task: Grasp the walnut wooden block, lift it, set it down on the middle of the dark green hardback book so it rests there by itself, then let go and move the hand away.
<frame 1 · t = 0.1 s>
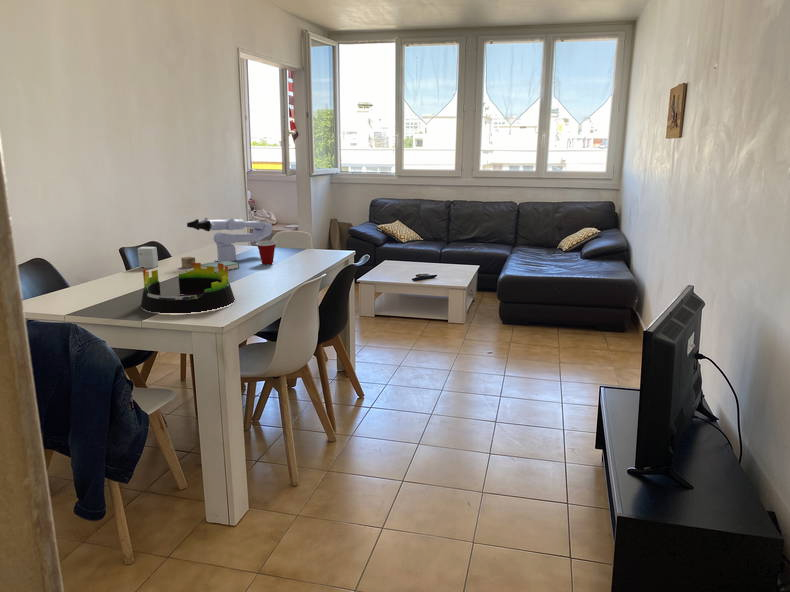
hand: (191, 225, 322), 22 cm above the table, tool horizontal, fingers open, 7 cm apart
walnut block: (188, 267, 325), on the table
book: (219, 269, 320), on the table
decorative container: (189, 304, 251), on the table
plastic cup: (267, 264, 334), on the table
small box: (148, 267, 324), on the table
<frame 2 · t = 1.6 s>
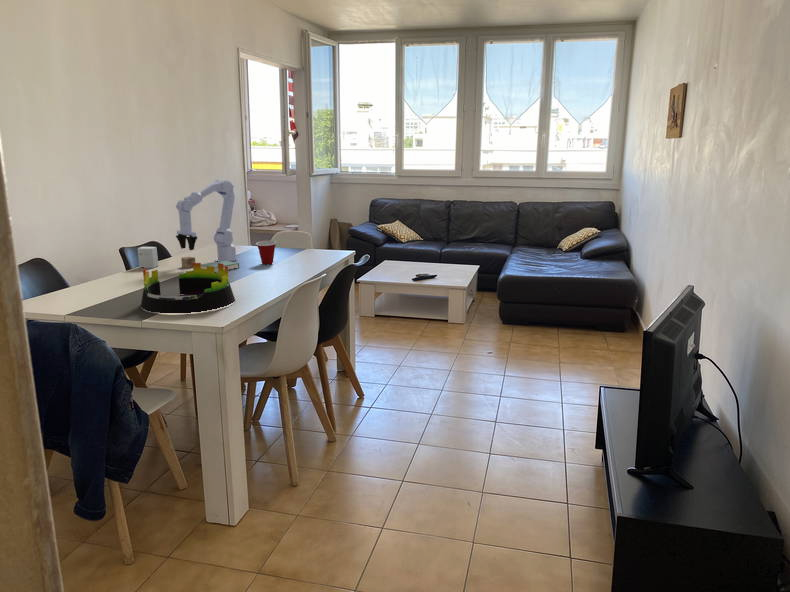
hand: (187, 249, 323), 9 cm above the table, tool pointing down, fingers open, 7 cm apart
nothing on the table moved.
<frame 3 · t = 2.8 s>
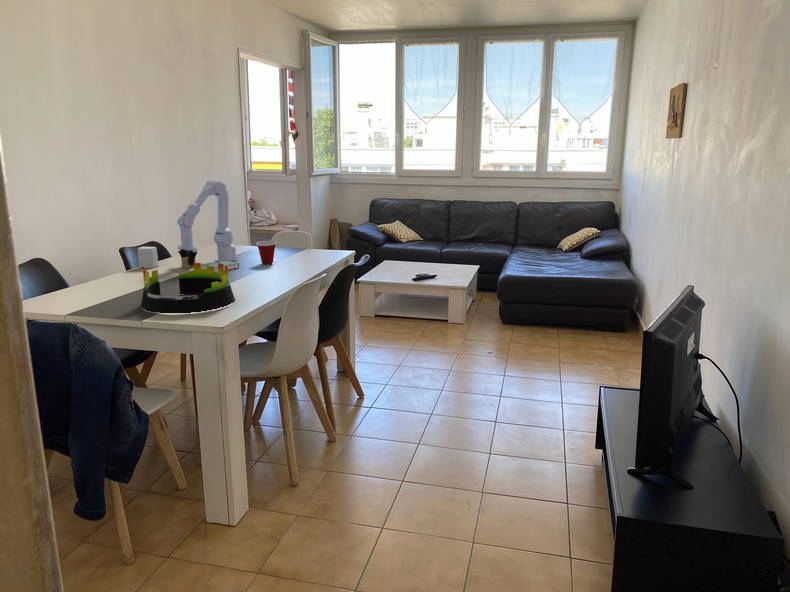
hand: (188, 264, 325), 1 cm above the table, tool pointing down, fingers closed on walnut block, 5 cm apart
walnut block: (188, 266, 325), on the table, touching gripper
everything else where it was.
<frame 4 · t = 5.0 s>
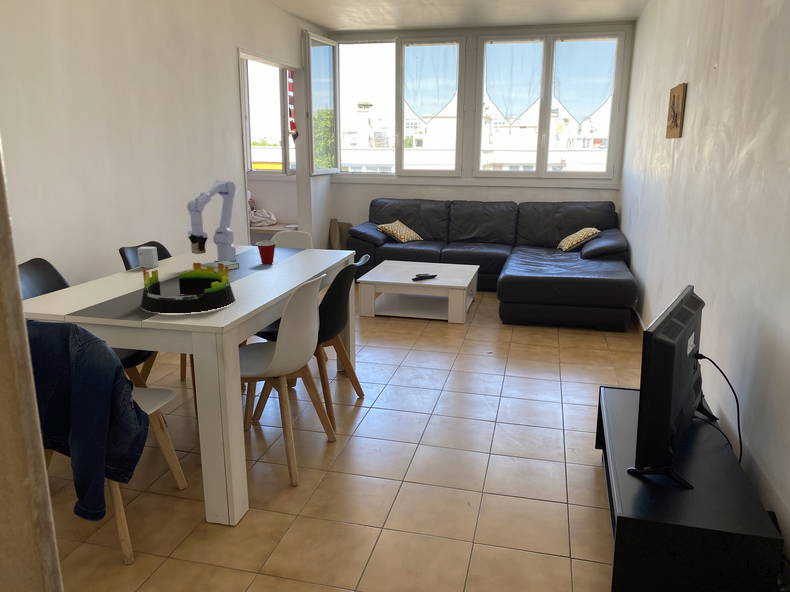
hand: (198, 249, 321), 9 cm above the table, tool pointing down, fingers closed on walnut block, 5 cm apart
walnut block: (198, 252, 321), point 8 cm above the table, touching gripper
everything else where it was.
when the fingers open (6 cm above the table, at t = 7.4 s): walnut block drops 1 cm, resting on book.
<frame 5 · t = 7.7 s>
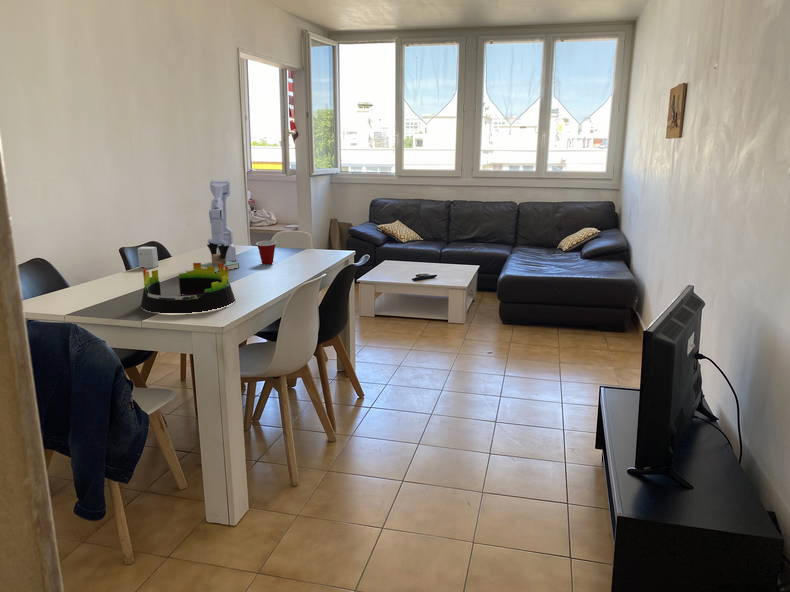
hand: (218, 258, 319), 6 cm above the table, tool pointing down, fingers open, 7 cm apart
walnut block: (219, 263, 319), point 3 cm above the table, touching book
book: (219, 269, 320), on the table, touching walnut block
everything else where it was.
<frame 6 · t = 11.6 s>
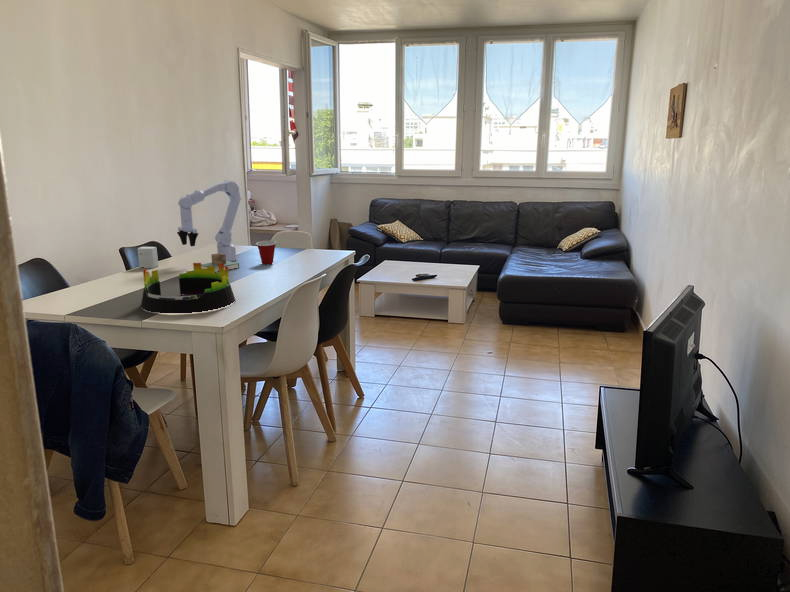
hand: (188, 245, 329), 10 cm above the table, tool pointing down, fingers open, 7 cm apart
nothing on the table moved.
at the end: walnut block inside the target area on the book (0.1 cm from its centre), point 3.0 cm above the book's base; walnut block tilted 0°; the gripper is holding nothing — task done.
